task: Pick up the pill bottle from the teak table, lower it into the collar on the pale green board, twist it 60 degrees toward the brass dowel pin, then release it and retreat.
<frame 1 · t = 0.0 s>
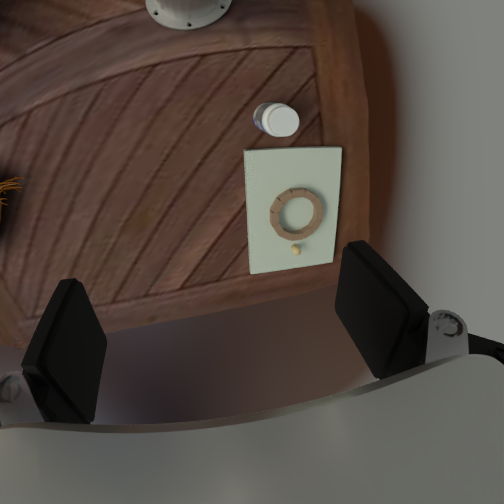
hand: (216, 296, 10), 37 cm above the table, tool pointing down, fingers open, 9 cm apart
socket board: (293, 210, 50), on the table
pill bottle: (268, 117, 41), on the table
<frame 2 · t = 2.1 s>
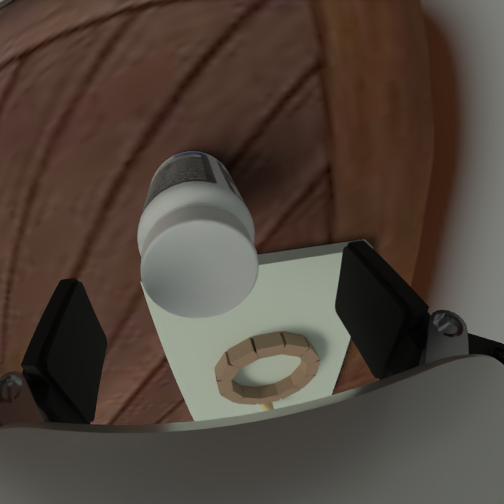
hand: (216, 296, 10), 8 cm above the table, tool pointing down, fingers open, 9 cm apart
socket board: (262, 356, 26), on the table
pill bottle: (191, 188, 17), on the table
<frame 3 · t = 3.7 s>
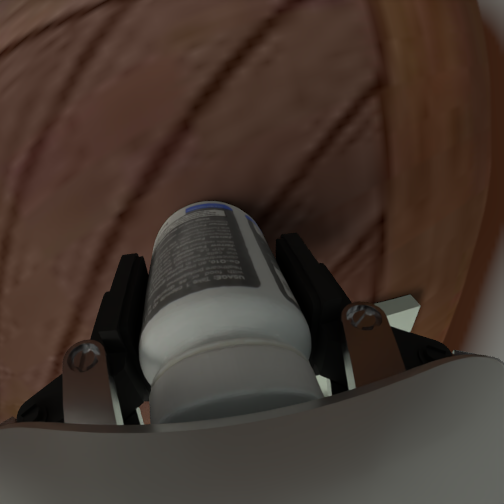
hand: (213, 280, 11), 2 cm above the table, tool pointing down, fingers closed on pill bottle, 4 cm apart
socket board: (285, 414, 21), on the table
pill bottle: (209, 248, 13), on the table, touching gripper
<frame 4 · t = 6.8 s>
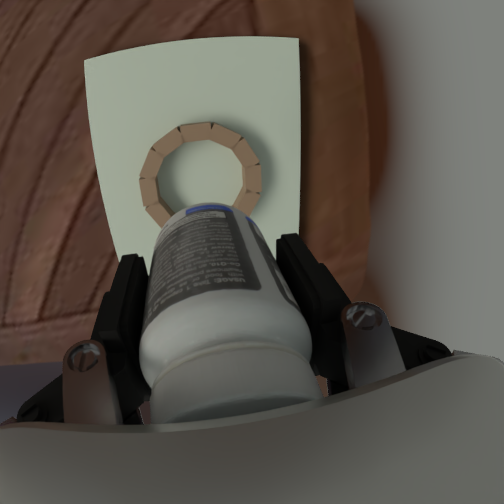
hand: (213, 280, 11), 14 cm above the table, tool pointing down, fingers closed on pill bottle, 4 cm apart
socket board: (199, 175, 23), on the table
pill bottle: (209, 250, 13), point 12 cm above the table, touching gripper
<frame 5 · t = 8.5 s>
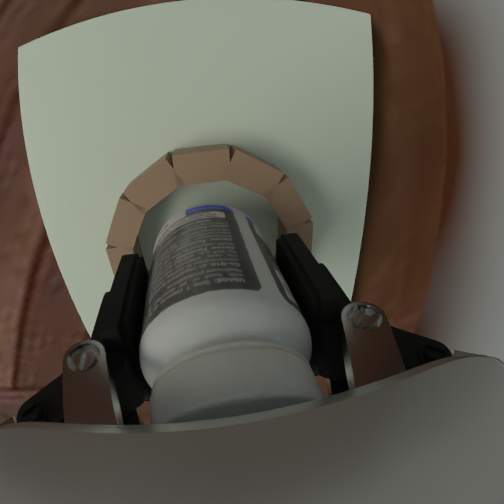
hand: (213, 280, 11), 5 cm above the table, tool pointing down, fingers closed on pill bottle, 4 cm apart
socket board: (208, 230, 15), on the table
pill bottle: (209, 250, 13), point 2 cm above the table, touching gripper
when the fingers open (4 cm above the table, at t = 9.9 s): pill bottle drops 1 cm, resting on socket board.
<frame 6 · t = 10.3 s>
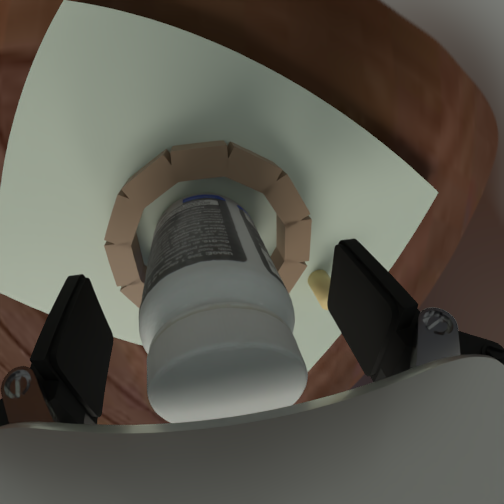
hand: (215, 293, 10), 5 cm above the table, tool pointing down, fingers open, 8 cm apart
socket board: (206, 227, 15), on the table
pill bottle: (204, 237, 14), point 1 cm above the table, touching socket board
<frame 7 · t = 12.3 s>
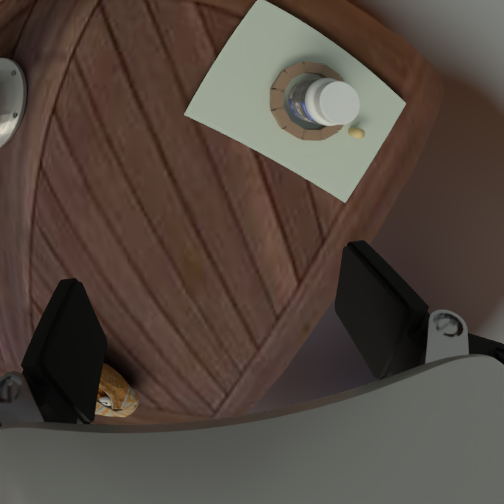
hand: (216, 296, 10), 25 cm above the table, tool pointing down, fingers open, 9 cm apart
socket board: (305, 100, 30), on the table
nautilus: (99, 362, 45), on the table
pill bottle: (307, 100, 29), point 1 cm above the table, touching socket board
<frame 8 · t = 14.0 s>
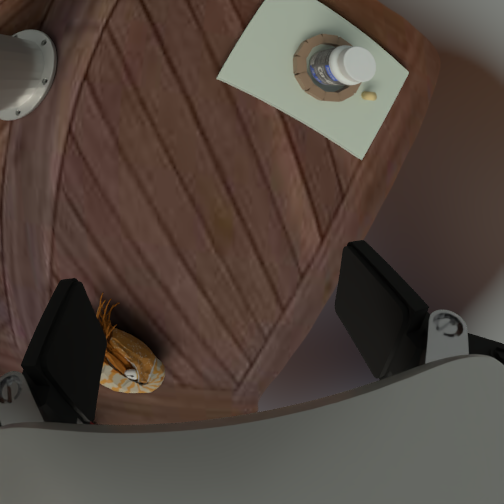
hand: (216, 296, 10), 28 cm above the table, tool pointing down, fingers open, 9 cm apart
socket board: (322, 68, 31), on the table
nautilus: (122, 335, 46), on the table
pill bottle: (325, 68, 30), point 1 cm above the table, touching socket board
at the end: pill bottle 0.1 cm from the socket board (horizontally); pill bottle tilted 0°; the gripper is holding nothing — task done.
